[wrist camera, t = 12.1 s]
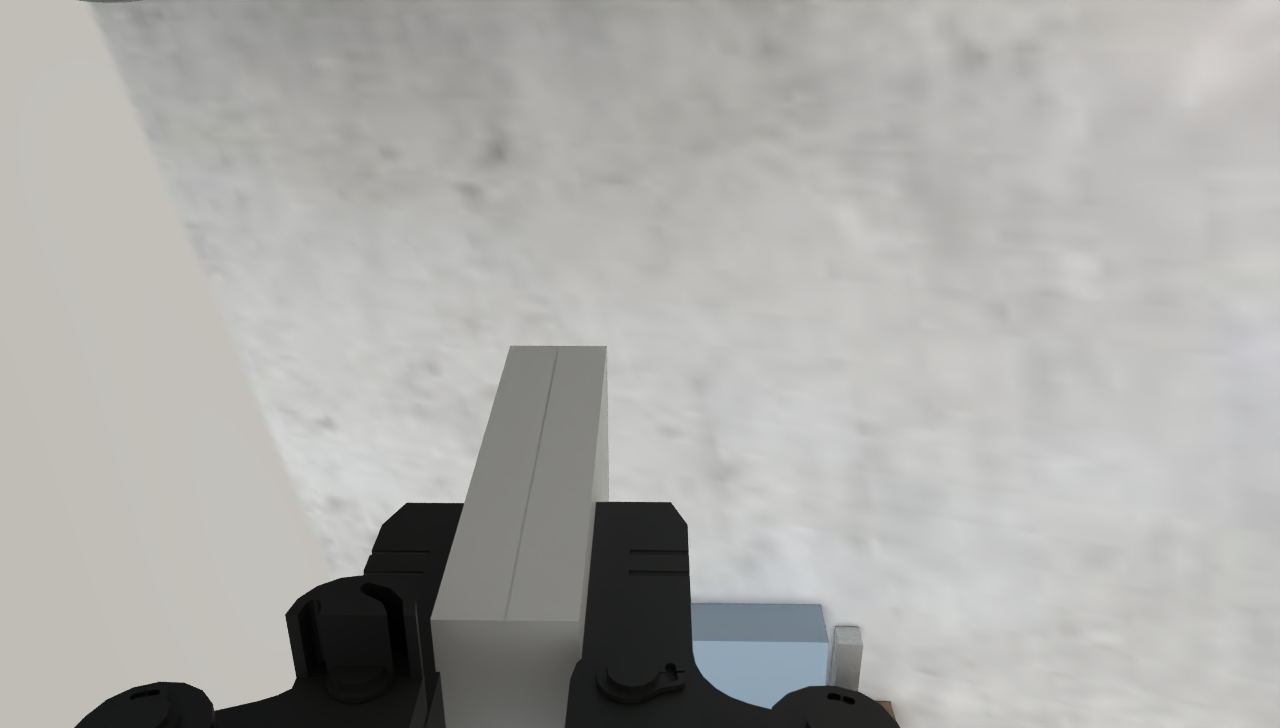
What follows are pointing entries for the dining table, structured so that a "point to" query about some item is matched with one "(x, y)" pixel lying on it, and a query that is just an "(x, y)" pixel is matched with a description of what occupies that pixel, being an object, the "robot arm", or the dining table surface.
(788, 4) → the dining table surface
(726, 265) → the dining table surface
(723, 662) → the light blue block
